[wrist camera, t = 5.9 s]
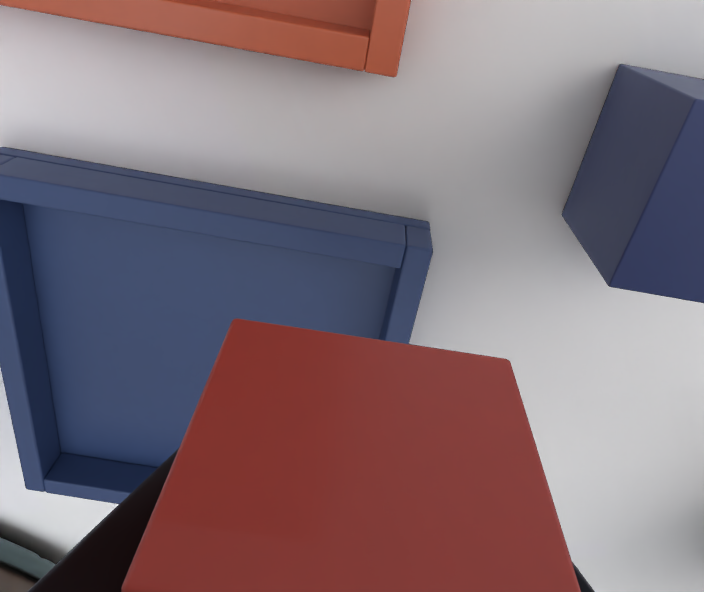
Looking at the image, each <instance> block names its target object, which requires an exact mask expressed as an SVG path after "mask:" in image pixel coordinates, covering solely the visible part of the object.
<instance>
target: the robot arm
mask: <svg viewBox="0 0 704 592" xmlns="http://www.w3.org/2000/svg"><path fill="white" fill-rule="evenodd" d="M178 450H179V448H178V449H177V450H176V451H175V452H174V453H173V454H172V455H171V456H170V457H169V458H168V459H167V460H166V461H164V462H163V463H162V464H161V465H160V466H159V467H158V468H157V469H156V470H155V471H154V472H153V473H152V474H151V475H150V476H149V477H148V478H147V479H145V480H144V481H143V482H142V483H141V484H140V485H139V486H138V487H137V488H136V489H135V490H134V491H133V492H132V493H131V494H130V495H129V496H128V497H126V498H125V499H124V500H123V501H122V502H121V503H120V504H119V505H118V506H117V507H116V508H115V509H114V510H113V511H112V512H111V513H110V514H109V515H107V516H106V517H105V518H104V519H103V520H102V521H101V522H100V523H99V524H98V525H97V526H96V527H95V528H94V529H93V530H92V531H91V532H90V533H88V534H87V535H86V536H85V537H84V538H83V539H82V540H81V541H80V542H79V543H78V544H77V545H76V546H75V547H74V548H73V549H72V550H71V551H69V552H68V553H67V554H66V555H65V556H64V557H63V558H62V559H61V560H60V561H59V562H58V563H57V564H56V565H55V566H54V567H53V568H52V569H50V570H49V571H48V572H47V573H46V574H45V575H44V576H43V577H42V578H41V579H40V580H39V581H38V582H37V583H36V584H35V585H34V586H33V587H31V588H30V589H29V590H28V591H27V592H121V587H122V585H123V582H124V580H125V577H126V575H127V573H128V570H129V568H130V565H131V563H132V561H133V558H134V556H135V553H136V551H137V548H138V546H139V544H140V541H141V539H142V536H143V534H144V532H145V529H146V527H147V524H148V522H149V520H150V517H151V515H152V512H153V510H154V508H155V505H156V503H157V500H158V498H159V495H160V493H161V491H162V488H163V486H164V483H165V481H166V479H167V476H168V474H169V471H170V469H171V467H172V464H173V462H174V459H175V457H176V454H177V452H178ZM572 564H573V568H574V571H575V574H576V577H577V581H578V584H579V587H580V590H581V592H595V591H594V590H593V589H592V587H591V586H590V585H589V583H588V582H587V581H586V579H585V578H584V577H583V575H582V574H581V573H580V571H579V570H578V569H577V567H576V566H575V565H574V563H573V562H572Z"/></svg>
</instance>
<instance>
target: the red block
mask: <svg viewBox="0 0 704 592" xmlns="http://www.w3.org/2000/svg"><path fill="white" fill-rule="evenodd" d="M121 592H581V590H580V587H579V584H578V581H577V577H576V574H575V571H574V568H573V564H572V561H571V558H570V555H569V551H568V548H567V545H566V542H565V538H564V535H563V532H562V529H561V525H560V522H559V519H558V516H557V512H556V509H555V506H554V503H553V499H552V496H551V493H550V490H549V486H548V483H547V480H546V477H545V473H544V470H543V467H542V464H541V460H540V457H539V454H538V451H537V447H536V444H535V441H534V438H533V434H532V431H531V428H530V425H529V422H528V418H527V415H526V412H525V409H524V405H523V402H522V399H521V396H520V392H519V389H518V386H517V383H516V379H515V376H514V373H513V370H512V366H511V363H510V361H509V360H507V359H504V358H497V357H490V356H484V355H477V354H470V353H464V352H457V351H451V350H444V349H437V348H431V347H424V346H417V345H411V344H404V343H397V342H391V341H384V340H378V339H371V338H364V337H358V336H351V335H344V334H338V333H331V332H324V331H318V330H311V329H305V328H298V327H291V326H285V325H278V324H271V323H265V322H258V321H251V320H245V319H238V318H237V319H233V321H232V322H231V324H230V327H229V329H228V332H227V334H226V336H225V339H224V341H223V344H222V346H221V348H220V351H219V353H218V356H217V358H216V360H215V363H214V365H213V368H212V370H211V373H210V375H209V377H208V380H207V382H206V385H205V387H204V389H203V392H202V394H201V397H200V399H199V401H198V404H197V406H196V409H195V411H194V413H193V416H192V418H191V421H190V423H189V426H188V428H187V430H186V433H185V435H184V438H183V440H182V442H181V445H180V447H179V450H178V452H177V454H176V457H175V459H174V462H173V464H172V467H171V469H170V471H169V474H168V476H167V479H166V481H165V483H164V486H163V488H162V491H161V493H160V495H159V498H158V500H157V503H156V505H155V508H154V510H153V512H152V515H151V517H150V520H149V522H148V524H147V527H146V529H145V532H144V534H143V536H142V539H141V541H140V544H139V546H138V548H137V551H136V553H135V556H134V558H133V561H132V563H131V565H130V568H129V570H128V573H127V575H126V577H125V580H124V582H123V585H122V587H121Z"/></svg>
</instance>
